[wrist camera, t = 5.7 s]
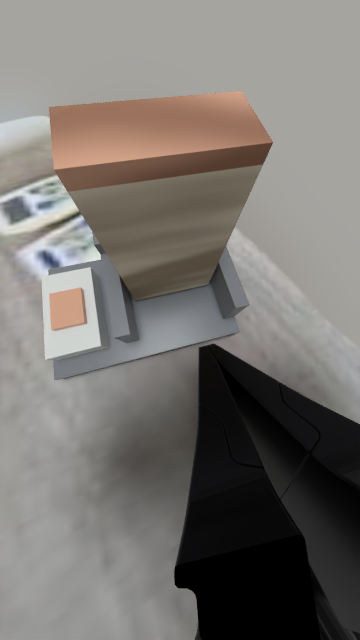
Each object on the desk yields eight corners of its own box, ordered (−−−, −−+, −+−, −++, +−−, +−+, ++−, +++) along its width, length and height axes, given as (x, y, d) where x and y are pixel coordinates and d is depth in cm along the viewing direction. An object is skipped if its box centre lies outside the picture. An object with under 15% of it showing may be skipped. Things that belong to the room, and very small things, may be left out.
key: (208, 284, 15) (273, 142, 5) (135, 300, 14) (53, 169, 4) (199, 258, 15) (241, 91, 6) (129, 272, 15) (48, 107, 5)
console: (235, 333, 15) (265, 320, 10) (63, 378, 13) (-1, 388, 8) (204, 246, 17) (216, 202, 13) (56, 275, 16) (4, 237, 11)
